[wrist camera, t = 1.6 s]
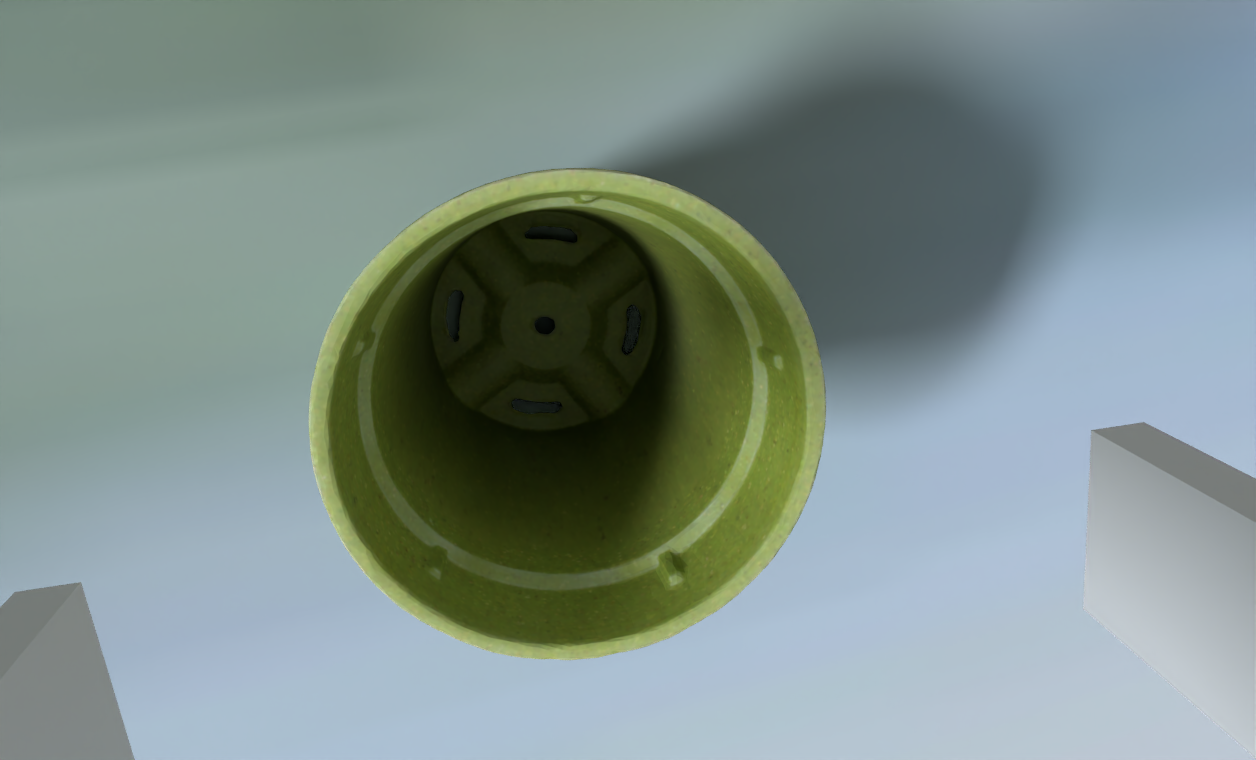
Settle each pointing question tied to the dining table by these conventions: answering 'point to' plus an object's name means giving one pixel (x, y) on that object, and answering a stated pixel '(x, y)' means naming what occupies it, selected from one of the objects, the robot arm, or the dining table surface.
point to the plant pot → (568, 415)
